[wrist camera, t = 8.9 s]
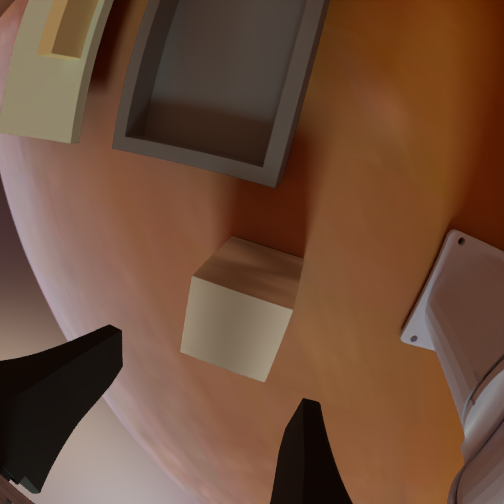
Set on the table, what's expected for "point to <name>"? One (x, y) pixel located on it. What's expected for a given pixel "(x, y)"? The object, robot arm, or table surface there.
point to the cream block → (241, 307)
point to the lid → (52, 68)
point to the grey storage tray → (220, 83)
